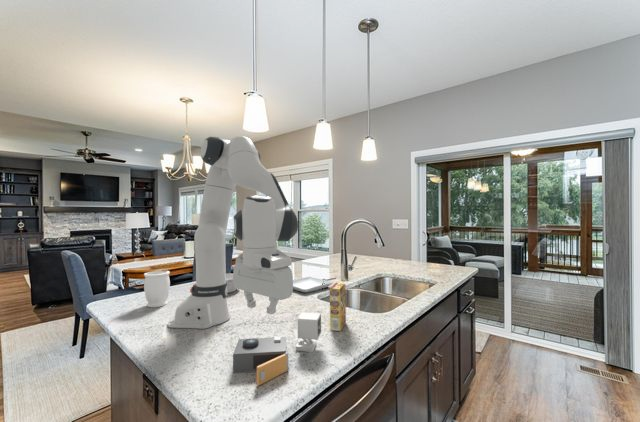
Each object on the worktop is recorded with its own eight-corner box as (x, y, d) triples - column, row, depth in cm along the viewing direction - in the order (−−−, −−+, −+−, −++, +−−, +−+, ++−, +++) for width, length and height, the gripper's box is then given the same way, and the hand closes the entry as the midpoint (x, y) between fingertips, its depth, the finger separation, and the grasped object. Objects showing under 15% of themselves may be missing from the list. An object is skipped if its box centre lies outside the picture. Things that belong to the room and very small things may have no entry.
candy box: (340, 331, 103) (340, 288, 103) (329, 330, 104) (329, 288, 104) (346, 322, 111) (346, 282, 111) (335, 321, 112) (335, 282, 112)
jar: (138, 306, 131) (138, 273, 131) (159, 300, 141) (158, 269, 141) (155, 309, 127) (155, 275, 127) (175, 302, 137) (174, 271, 137)
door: (259, 387, 71) (259, 368, 71) (256, 384, 72) (256, 366, 72) (290, 371, 78) (290, 353, 78) (286, 368, 79) (286, 352, 79)
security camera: (317, 353, 87) (317, 320, 87) (295, 351, 89) (294, 318, 89) (321, 343, 94) (321, 312, 94) (300, 341, 95) (300, 311, 95)
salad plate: (280, 288, 163) (280, 281, 163) (309, 281, 177) (309, 275, 177) (304, 296, 147) (304, 289, 147) (334, 288, 162) (334, 282, 162)
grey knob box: (233, 372, 77) (232, 350, 77) (239, 355, 86) (238, 336, 86) (285, 369, 79) (285, 347, 79) (286, 353, 88) (286, 333, 88)
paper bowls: (236, 294, 149) (236, 279, 149) (206, 294, 149) (206, 279, 149) (244, 287, 164) (244, 273, 164) (217, 287, 164) (217, 273, 164)
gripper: (226, 255, 79) (227, 305, 80) (277, 263, 67) (278, 322, 67) (245, 252, 84) (246, 299, 84) (296, 259, 72) (297, 314, 72)
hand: (261, 310), depth 76 cm, fingers open, 6 cm apart
